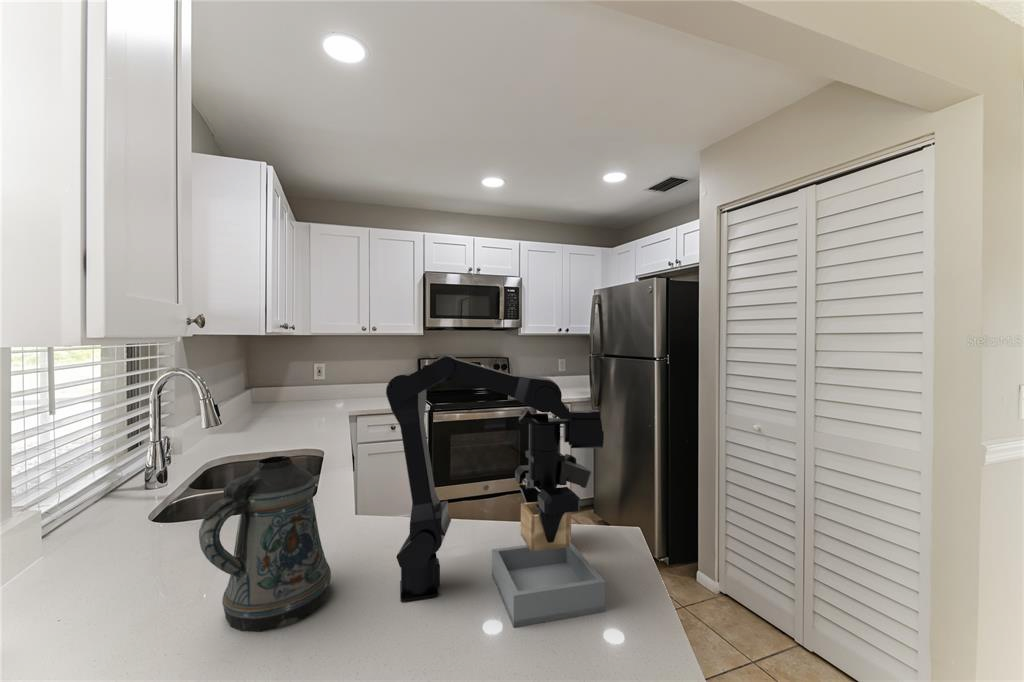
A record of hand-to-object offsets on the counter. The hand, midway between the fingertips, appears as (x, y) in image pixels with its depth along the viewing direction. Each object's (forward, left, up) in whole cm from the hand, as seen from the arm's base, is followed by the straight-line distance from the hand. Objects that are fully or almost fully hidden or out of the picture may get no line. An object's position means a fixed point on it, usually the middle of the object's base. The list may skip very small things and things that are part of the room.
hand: (544, 533), depth 78 cm
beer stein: (-46, +7, -11) cm, 48 cm away
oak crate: (0, 0, -1) cm, 1 cm away
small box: (+9, +16, -11) cm, 22 cm away
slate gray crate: (0, 0, -11) cm, 11 cm away
